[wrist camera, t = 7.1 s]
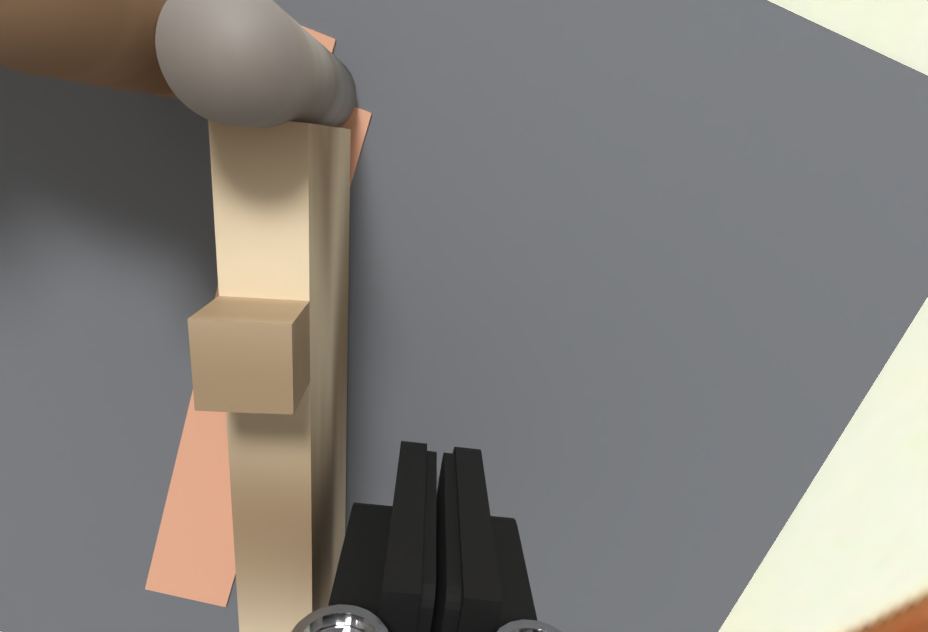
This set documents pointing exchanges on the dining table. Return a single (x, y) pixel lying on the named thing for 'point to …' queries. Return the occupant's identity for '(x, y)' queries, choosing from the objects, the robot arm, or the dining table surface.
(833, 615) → the dining table surface
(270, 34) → the panel
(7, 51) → the fixed fence
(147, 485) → the mat
